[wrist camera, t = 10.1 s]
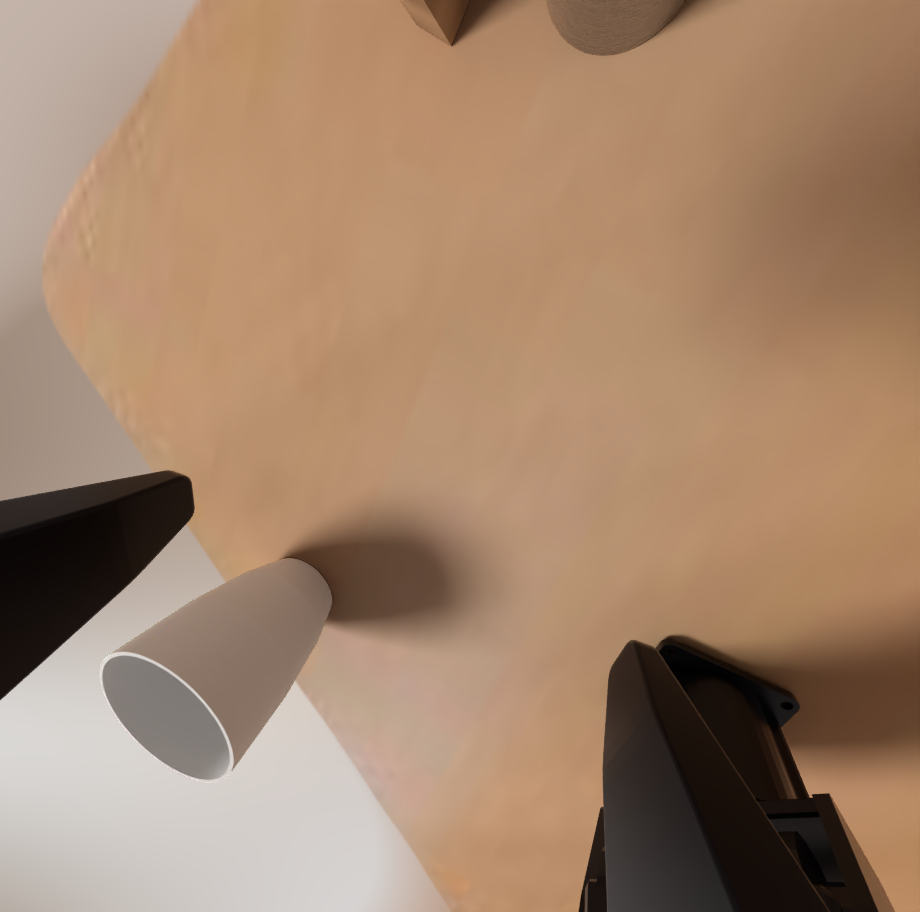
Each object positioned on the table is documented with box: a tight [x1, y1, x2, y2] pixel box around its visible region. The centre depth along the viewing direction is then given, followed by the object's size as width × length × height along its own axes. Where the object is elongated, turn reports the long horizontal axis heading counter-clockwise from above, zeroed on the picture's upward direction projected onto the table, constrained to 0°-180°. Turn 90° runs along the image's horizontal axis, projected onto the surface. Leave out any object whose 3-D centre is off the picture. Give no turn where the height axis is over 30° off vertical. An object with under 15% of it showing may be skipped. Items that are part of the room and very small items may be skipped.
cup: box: [99, 558, 332, 783], centre depth 24 cm, size 8×8×10 cm
